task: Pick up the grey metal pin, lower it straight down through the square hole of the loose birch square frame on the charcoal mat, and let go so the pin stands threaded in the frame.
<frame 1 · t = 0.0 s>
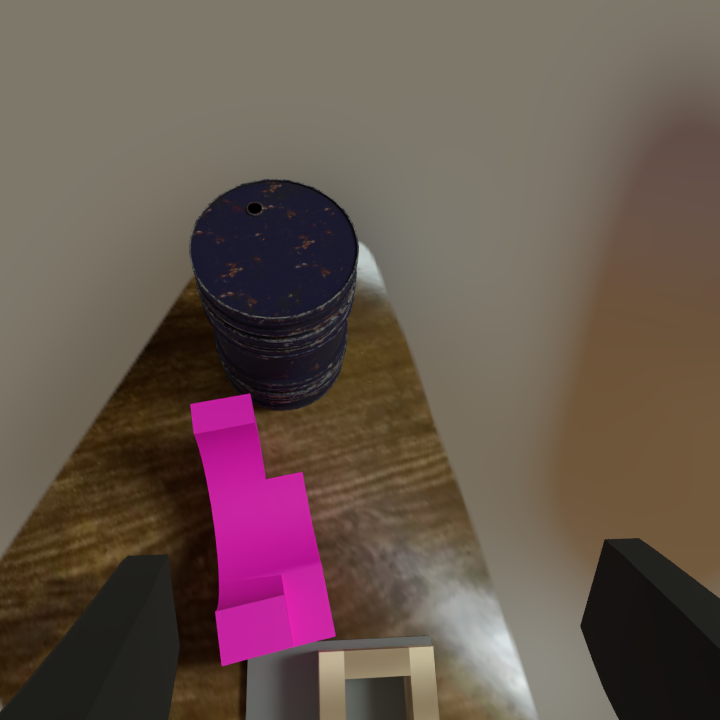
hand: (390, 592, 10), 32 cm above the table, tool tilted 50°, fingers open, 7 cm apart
toy block: (266, 533, 41), on the table, touching charcoal mat
dark metal barrel: (283, 355, 47), on the table
birch square frame: (374, 709, 36), resting on charcoal mat
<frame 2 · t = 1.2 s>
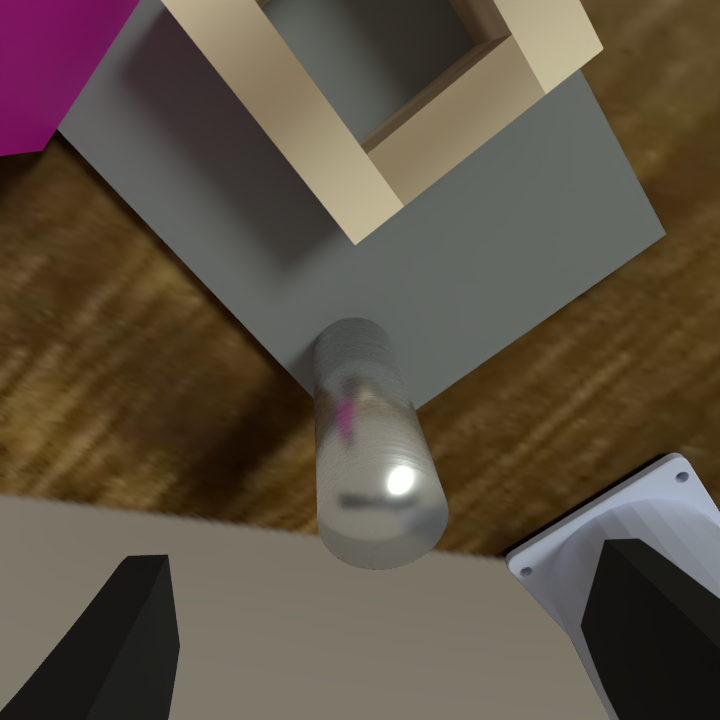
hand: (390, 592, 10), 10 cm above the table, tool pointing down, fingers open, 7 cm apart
metal pin: (353, 355, 19), resting on charcoal mat
birch square frame: (369, 28, 15), resting on charcoal mat
charcoal mat: (375, 172, 17), on the table
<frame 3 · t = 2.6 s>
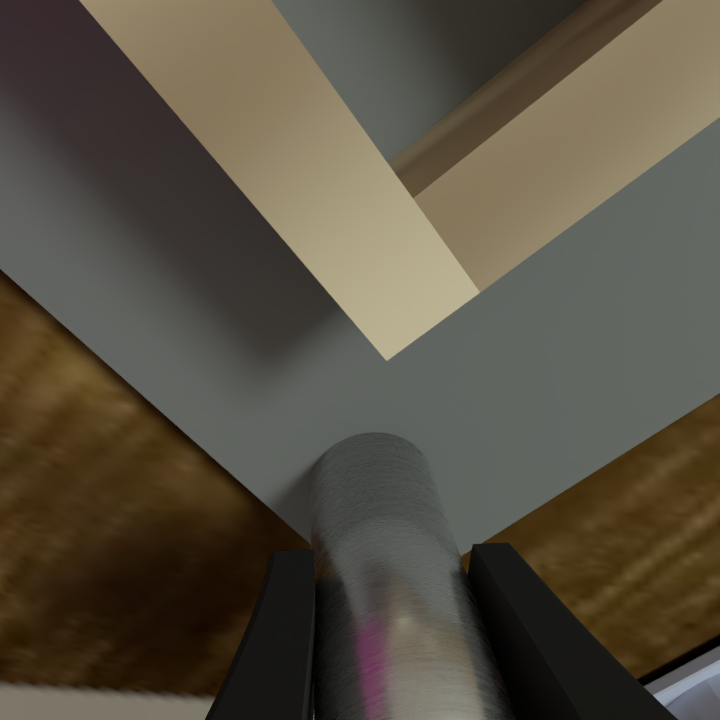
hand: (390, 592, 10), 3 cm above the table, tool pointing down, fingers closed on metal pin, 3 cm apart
metal pin: (371, 484, 12), resting on charcoal mat, touching gripper
charcoal mat: (410, 210, 10), on the table
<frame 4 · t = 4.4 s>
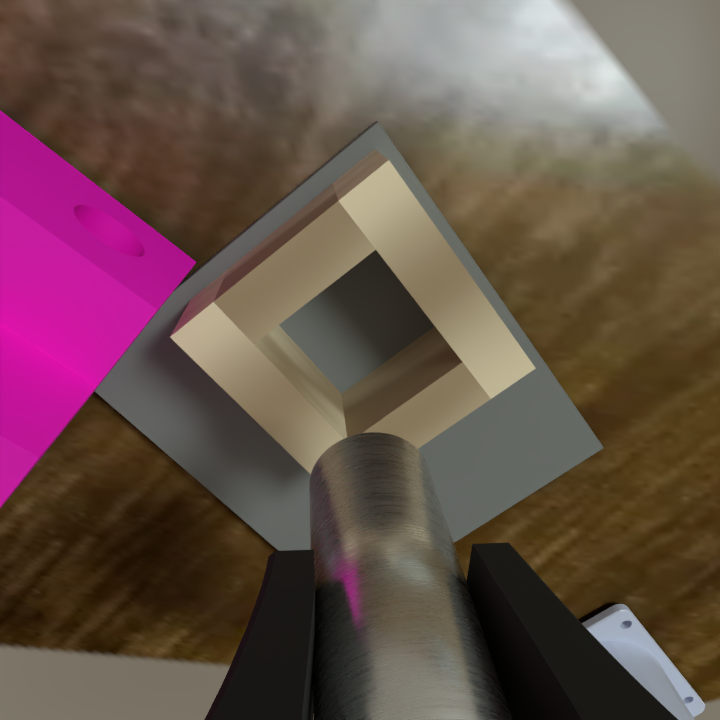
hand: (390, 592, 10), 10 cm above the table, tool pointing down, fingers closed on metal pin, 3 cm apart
metal pin: (370, 483, 12), point 7 cm above the table, touching gripper
birch square frame: (352, 314, 18), resting on charcoal mat
charcoal mat: (358, 406, 20), on the table
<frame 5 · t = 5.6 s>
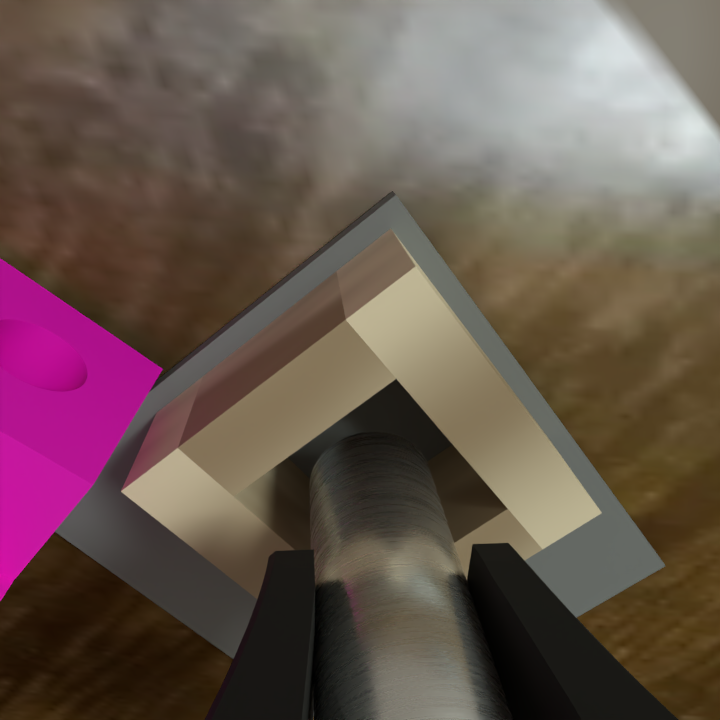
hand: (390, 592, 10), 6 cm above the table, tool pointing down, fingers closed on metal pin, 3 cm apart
metal pin: (370, 483, 12), point 3 cm above the table, touching gripper
birch square frame: (361, 425, 14), resting on charcoal mat
charcoal mat: (368, 524, 16), on the table
when the fingers open (4 cm above the table, at t = 6.3 s): metal pin stays where it is, resting on charcoal mat.
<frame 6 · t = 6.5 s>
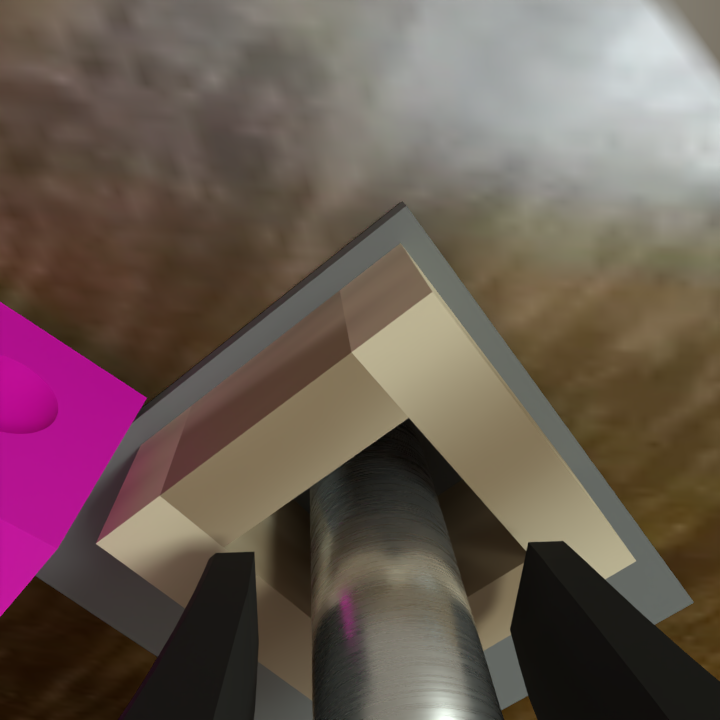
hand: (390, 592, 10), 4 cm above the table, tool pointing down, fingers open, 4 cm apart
metal pin: (366, 461, 13), point 1 cm above the table, touching charcoal mat
birch square frame: (366, 457, 13), resting on charcoal mat
charcoal mat: (373, 560, 15), on the table
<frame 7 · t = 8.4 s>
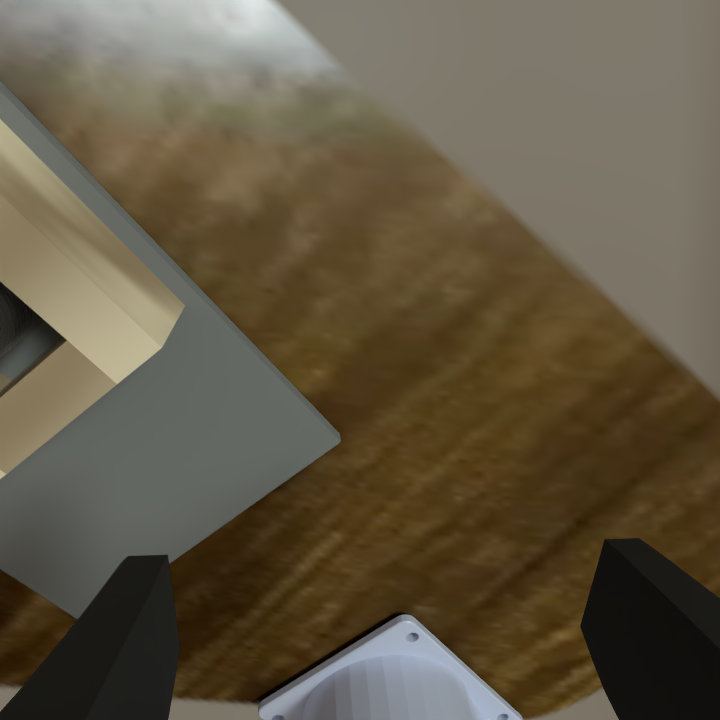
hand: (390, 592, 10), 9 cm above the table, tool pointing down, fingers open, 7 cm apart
charcoal mat: (45, 395, 18), on the table
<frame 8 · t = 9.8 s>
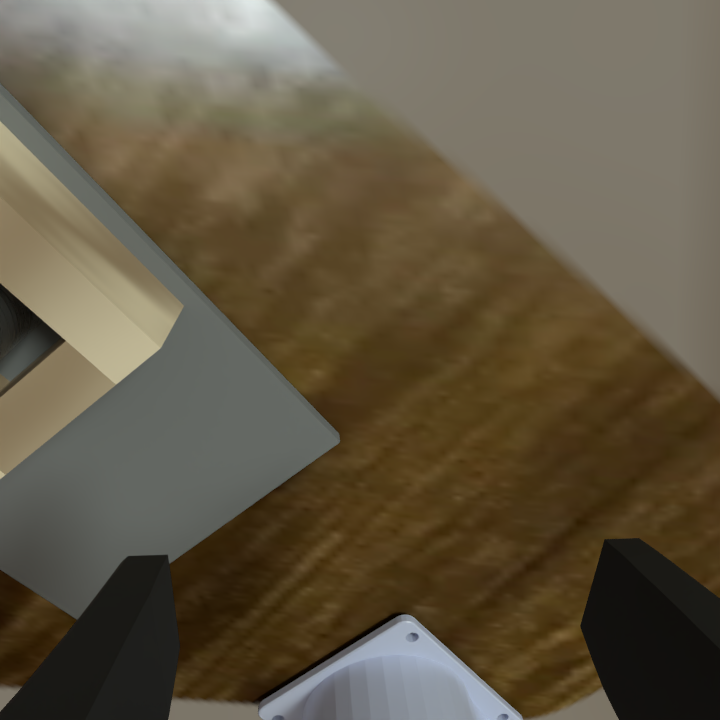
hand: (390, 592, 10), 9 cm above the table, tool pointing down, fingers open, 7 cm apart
charcoal mat: (44, 396, 18), on the table
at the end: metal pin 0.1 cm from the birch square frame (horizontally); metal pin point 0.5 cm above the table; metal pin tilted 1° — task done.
